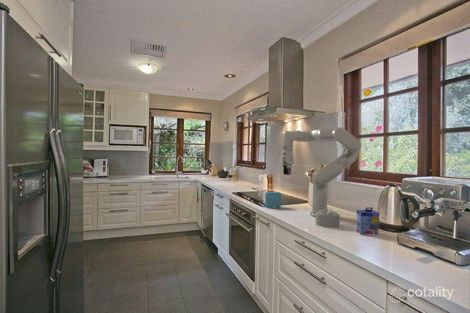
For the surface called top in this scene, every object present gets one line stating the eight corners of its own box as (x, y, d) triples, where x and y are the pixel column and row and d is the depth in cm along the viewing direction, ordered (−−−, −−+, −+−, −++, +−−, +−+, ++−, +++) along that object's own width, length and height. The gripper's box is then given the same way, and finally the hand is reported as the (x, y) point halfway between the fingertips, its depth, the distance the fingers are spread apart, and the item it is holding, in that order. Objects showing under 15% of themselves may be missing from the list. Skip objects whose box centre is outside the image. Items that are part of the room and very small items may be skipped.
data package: (279, 206, 191) (279, 191, 191) (281, 207, 187) (281, 192, 187) (264, 206, 191) (265, 191, 190) (265, 208, 186) (266, 192, 186)
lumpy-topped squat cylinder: (341, 227, 139) (341, 212, 139) (319, 227, 138) (319, 212, 138) (333, 222, 149) (333, 208, 149) (312, 222, 149) (313, 208, 149)
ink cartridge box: (360, 235, 126) (361, 207, 126) (355, 231, 132) (356, 205, 132) (379, 235, 126) (380, 208, 126) (373, 231, 132) (373, 205, 132)
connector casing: (291, 174, 172) (291, 165, 172) (288, 175, 169) (288, 165, 169) (285, 174, 175) (285, 164, 175) (282, 174, 172) (283, 165, 172)
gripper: (287, 148, 163) (286, 174, 163) (297, 148, 176) (297, 173, 176) (277, 148, 168) (276, 174, 168) (288, 148, 181) (287, 172, 181)
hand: (287, 173), depth 172 cm, fingers closed on connector casing, 4 cm apart
